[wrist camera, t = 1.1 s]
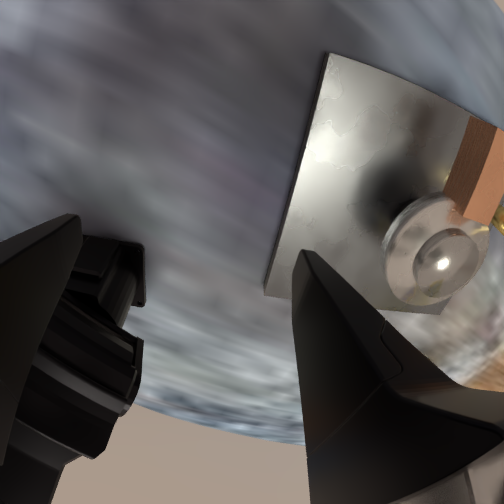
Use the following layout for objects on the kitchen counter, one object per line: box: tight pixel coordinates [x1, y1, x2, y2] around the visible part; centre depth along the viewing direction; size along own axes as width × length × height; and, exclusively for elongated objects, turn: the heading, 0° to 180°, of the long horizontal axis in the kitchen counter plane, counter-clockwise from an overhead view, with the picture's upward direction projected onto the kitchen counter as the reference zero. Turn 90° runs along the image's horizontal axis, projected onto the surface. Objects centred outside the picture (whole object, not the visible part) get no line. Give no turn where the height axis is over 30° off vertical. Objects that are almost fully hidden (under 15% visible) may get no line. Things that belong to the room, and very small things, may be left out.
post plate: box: [263, 53, 504, 315], centre depth 19 cm, size 18×18×6 cm
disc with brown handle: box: [380, 116, 504, 306], centre depth 15 cm, size 12×8×2 cm, turn 169°
